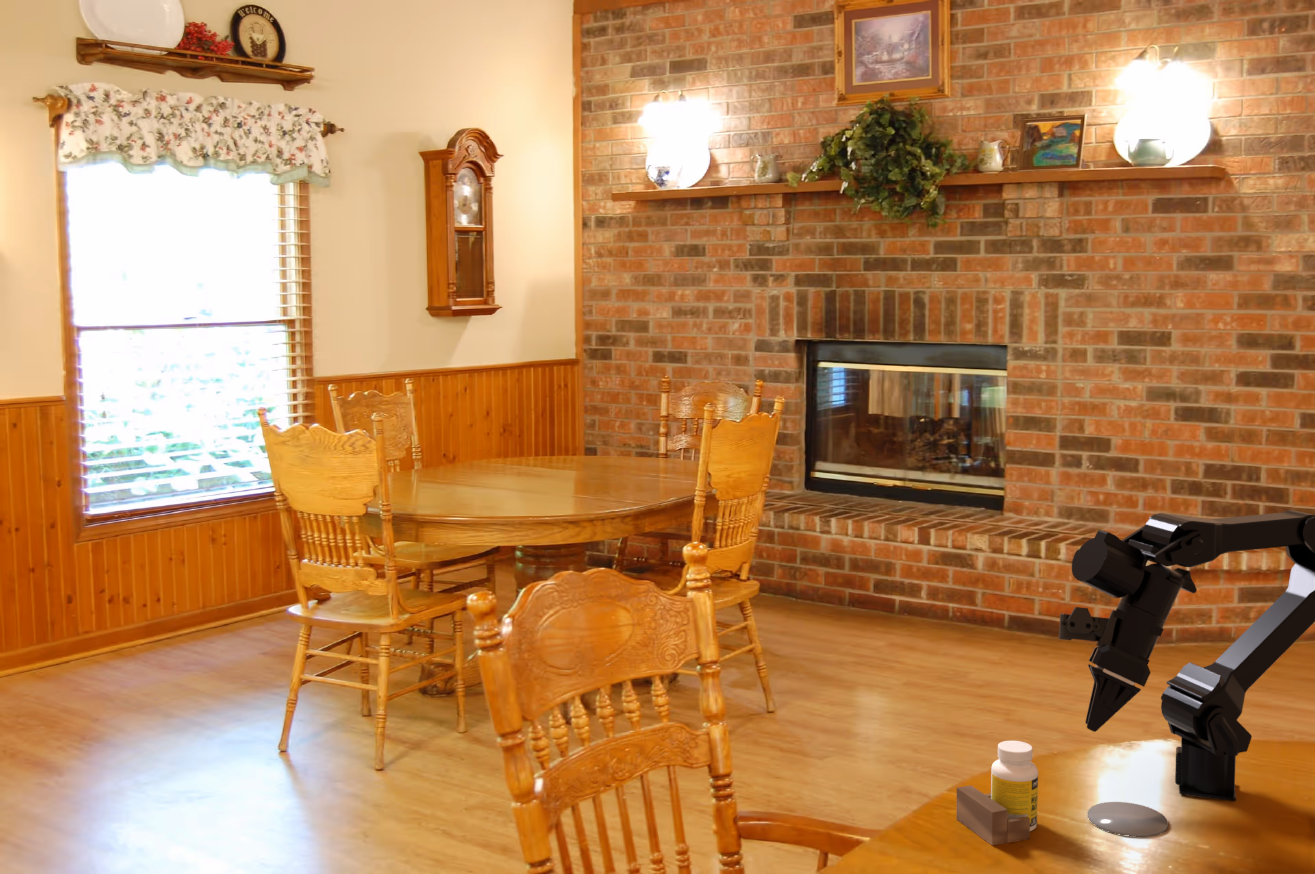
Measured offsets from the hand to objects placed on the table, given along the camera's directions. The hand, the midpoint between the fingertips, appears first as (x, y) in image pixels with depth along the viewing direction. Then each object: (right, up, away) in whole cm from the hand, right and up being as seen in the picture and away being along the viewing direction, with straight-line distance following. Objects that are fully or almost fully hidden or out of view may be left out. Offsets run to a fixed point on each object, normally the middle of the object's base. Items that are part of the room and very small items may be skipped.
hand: (1089, 727), depth 151 cm
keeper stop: (-13, -11, -4) cm, 18 cm away
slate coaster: (+4, -11, -3) cm, 11 cm away
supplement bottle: (-10, -11, -3) cm, 15 cm away
